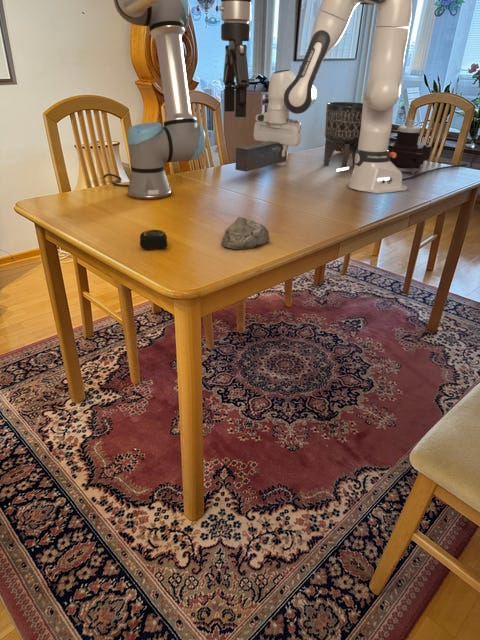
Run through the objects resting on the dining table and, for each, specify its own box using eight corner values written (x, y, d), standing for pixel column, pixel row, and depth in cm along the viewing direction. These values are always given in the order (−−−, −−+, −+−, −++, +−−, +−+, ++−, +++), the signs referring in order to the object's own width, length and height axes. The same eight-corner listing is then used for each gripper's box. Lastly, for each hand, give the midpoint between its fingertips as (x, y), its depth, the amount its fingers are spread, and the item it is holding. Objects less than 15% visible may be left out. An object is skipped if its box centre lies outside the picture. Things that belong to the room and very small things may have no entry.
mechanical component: (377, 119, 195) (405, 114, 215) (369, 169, 206) (397, 160, 225) (427, 124, 183) (452, 118, 203) (415, 177, 194) (441, 167, 213)
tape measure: (140, 252, 115) (139, 238, 113) (141, 242, 120) (140, 229, 119) (167, 251, 116) (166, 237, 114) (167, 241, 121) (166, 228, 120)
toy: (334, 147, 234) (333, 142, 247) (337, 160, 237) (336, 154, 250) (356, 140, 231) (354, 135, 243) (359, 153, 234) (356, 147, 246)
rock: (255, 233, 128) (256, 211, 124) (276, 242, 122) (278, 219, 119) (217, 244, 120) (217, 220, 117) (239, 254, 115) (239, 230, 111)
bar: (275, 159, 187) (277, 139, 183) (286, 161, 185) (287, 141, 181) (235, 169, 168) (236, 147, 164) (246, 171, 165) (247, 149, 161)
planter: (313, 167, 208) (319, 103, 195) (331, 160, 222) (338, 101, 209) (353, 173, 199) (362, 107, 185) (369, 166, 213) (379, 104, 199)
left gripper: (212, 24, 125) (213, 109, 135) (232, 19, 104) (231, 119, 115) (238, 25, 126) (237, 109, 137) (263, 20, 106) (259, 119, 116)
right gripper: (305, 119, 172) (301, 157, 179) (261, 114, 182) (259, 150, 189) (297, 121, 167) (293, 160, 174) (252, 115, 177) (250, 152, 184)
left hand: (234, 114), depth 126 cm, fingers open, 13 cm apart
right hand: (275, 155), depth 182 cm, fingers closed on bar, 5 cm apart
